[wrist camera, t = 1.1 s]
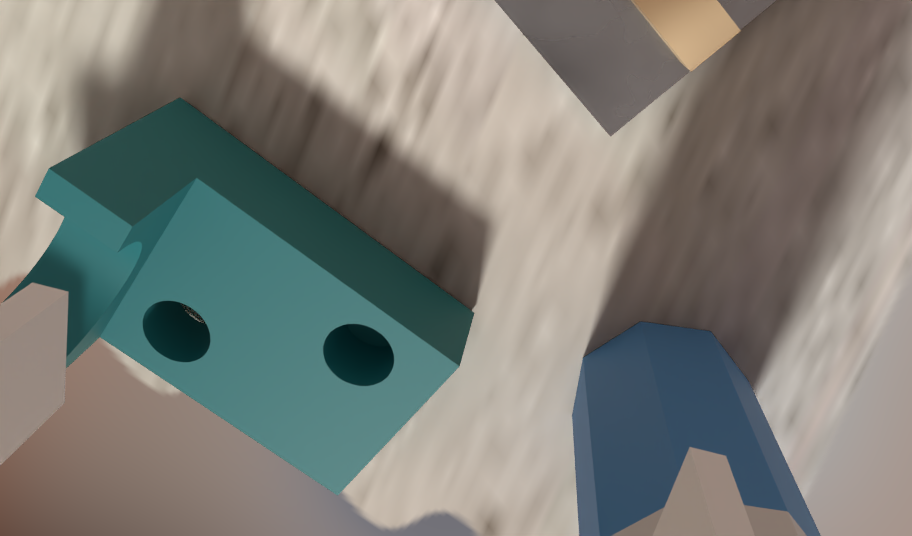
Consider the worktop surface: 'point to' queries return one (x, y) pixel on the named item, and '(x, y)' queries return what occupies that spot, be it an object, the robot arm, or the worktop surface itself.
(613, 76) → the bolt plate
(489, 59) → the worktop surface
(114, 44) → the worktop surface
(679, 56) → the beam gauge
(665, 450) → the water bottle
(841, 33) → the worktop surface
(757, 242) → the worktop surface
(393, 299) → the teal l-shaped bracket
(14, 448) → the robot arm
